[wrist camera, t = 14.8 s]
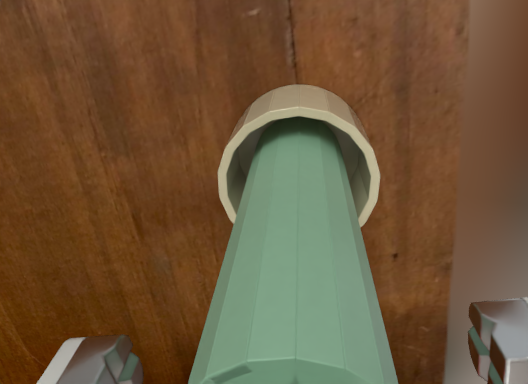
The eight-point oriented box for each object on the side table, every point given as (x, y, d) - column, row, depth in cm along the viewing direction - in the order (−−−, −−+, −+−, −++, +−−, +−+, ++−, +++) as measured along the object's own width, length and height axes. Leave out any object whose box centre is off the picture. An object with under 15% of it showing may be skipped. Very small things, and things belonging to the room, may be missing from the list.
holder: (219, 97, 21) (199, 123, 17) (359, 72, 20) (374, 93, 16) (247, 215, 24) (236, 261, 20) (370, 199, 23) (385, 244, 19)
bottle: (248, 122, 21) (4, 730, 4) (335, 108, 20) (522, 776, 3) (264, 198, 23) (152, 833, 6) (344, 188, 22) (493, 877, 5)
